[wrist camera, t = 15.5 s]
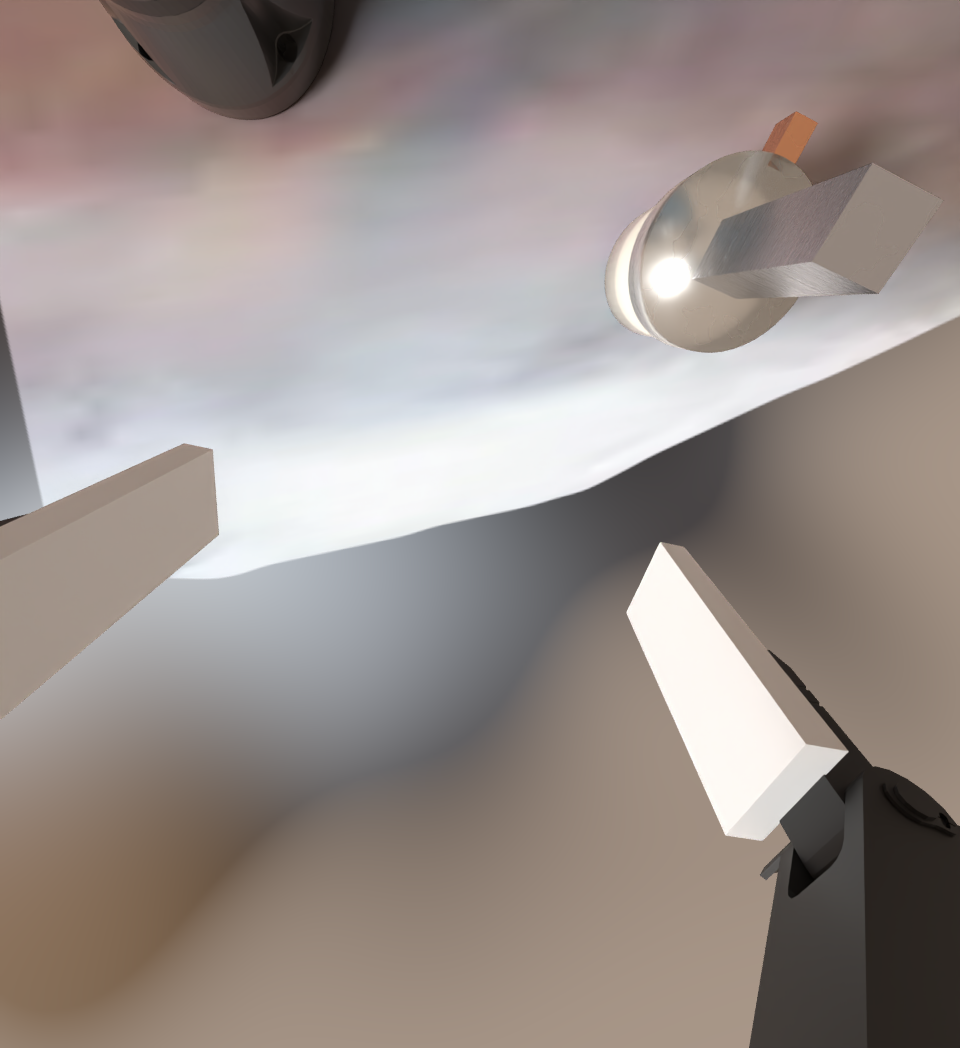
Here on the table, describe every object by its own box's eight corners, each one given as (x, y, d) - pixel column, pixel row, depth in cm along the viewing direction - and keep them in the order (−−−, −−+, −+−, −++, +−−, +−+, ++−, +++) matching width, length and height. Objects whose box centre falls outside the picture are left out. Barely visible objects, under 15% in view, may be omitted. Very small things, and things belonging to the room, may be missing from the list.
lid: (727, 370, 31) (883, 411, 19) (601, 316, 30) (680, 323, 18) (844, 174, 26) (1167, 52, 14) (698, 98, 25) (910, -115, 12)
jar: (614, 203, 34) (647, 175, 27) (735, 205, 34) (801, 177, 27) (597, 334, 38) (621, 341, 31) (704, 337, 38) (754, 343, 31)
